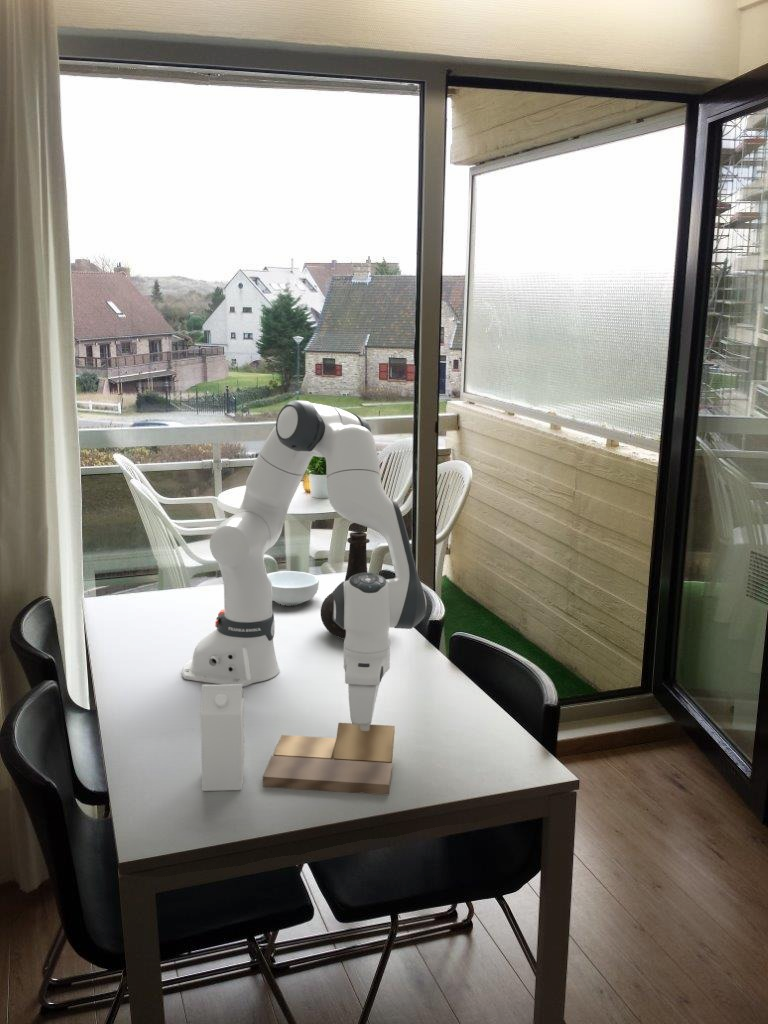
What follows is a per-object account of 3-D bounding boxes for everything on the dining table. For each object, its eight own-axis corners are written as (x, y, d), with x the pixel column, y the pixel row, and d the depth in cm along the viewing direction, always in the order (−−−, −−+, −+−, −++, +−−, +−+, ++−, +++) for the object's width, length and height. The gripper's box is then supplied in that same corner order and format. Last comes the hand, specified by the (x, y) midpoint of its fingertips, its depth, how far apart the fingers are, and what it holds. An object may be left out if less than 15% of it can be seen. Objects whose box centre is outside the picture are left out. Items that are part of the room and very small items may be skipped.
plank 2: (334, 764, 178) (333, 758, 176) (339, 728, 184) (338, 722, 182) (391, 767, 177) (391, 761, 176) (394, 731, 183) (394, 725, 181)
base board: (262, 786, 169) (262, 776, 169) (271, 765, 177) (271, 755, 177) (388, 794, 168) (389, 784, 167) (392, 772, 175) (392, 763, 175)
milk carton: (206, 772, 174) (204, 677, 170) (244, 771, 175) (243, 676, 171) (202, 791, 167) (199, 693, 163) (242, 790, 168) (240, 692, 164)
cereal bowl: (294, 615, 261) (294, 590, 260) (249, 603, 270) (248, 580, 268) (330, 599, 275) (330, 576, 274) (286, 589, 284) (286, 567, 282)
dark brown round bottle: (306, 635, 245) (307, 532, 239) (352, 619, 259) (353, 521, 253) (357, 653, 234) (359, 545, 228) (402, 634, 248) (404, 532, 241)
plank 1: (273, 764, 178) (273, 754, 177) (281, 744, 185) (281, 734, 185) (330, 767, 177) (330, 758, 176) (336, 747, 185) (336, 738, 184)
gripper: (356, 639, 187) (355, 703, 190) (343, 679, 167) (343, 749, 170) (387, 640, 187) (386, 704, 190) (378, 680, 167) (377, 751, 170)
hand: (365, 726), depth 180 cm, fingers closed
